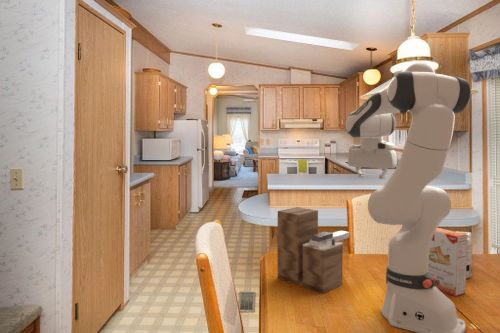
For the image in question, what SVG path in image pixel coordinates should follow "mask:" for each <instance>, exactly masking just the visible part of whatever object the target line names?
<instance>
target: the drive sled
mask: <svg viewBox="0 0 500 333" xmlns="http://www.w3.org/2000/svg"><path fill="white" fill-rule="evenodd" d="M348 238H350V231H345V230H338V231H334V232H329V231H321V232H318V234H315V235H312V239H311V240H310V246H314V247H318V248H320V247H322V246H325V245H328V244H331V243H332V239H335V242H341V241H342V240H346V239H348Z"/></svg>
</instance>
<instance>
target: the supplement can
mask: <svg viewBox="0 0 500 333" xmlns="http://www.w3.org/2000/svg"><path fill="white" fill-rule="evenodd" d="M472 244H473V242H471V240H470V238H468V237H467V267H466V280H467V279H469V278H470V277H471V273H472V249H473V248H472V246H473V245H472Z"/></svg>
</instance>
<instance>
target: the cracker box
mask: <svg viewBox="0 0 500 333" xmlns="http://www.w3.org/2000/svg"><path fill="white" fill-rule="evenodd" d="M458 232H459V231H458ZM458 232H456V231H454V230H449V229H445V228H440V227H437V228H436V230H435V232H434V235H433V237H432V240H431V243H430V248H429V261H428V271H429V272H430V274H431V275H432V276H435V275H437V276H436V278H437V279H436V280H435V287H437V288H438V289H439V290H440V291H441V292H442V293H443V292H444V293H446V294H448V295H450V296H454V297H457V296H460V295H463V294H466V293H467V292H466V291H467V288H466V287H467V285H466V284H467V279H466V267H467V237H468V235H467V234H463V233H458Z"/></svg>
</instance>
